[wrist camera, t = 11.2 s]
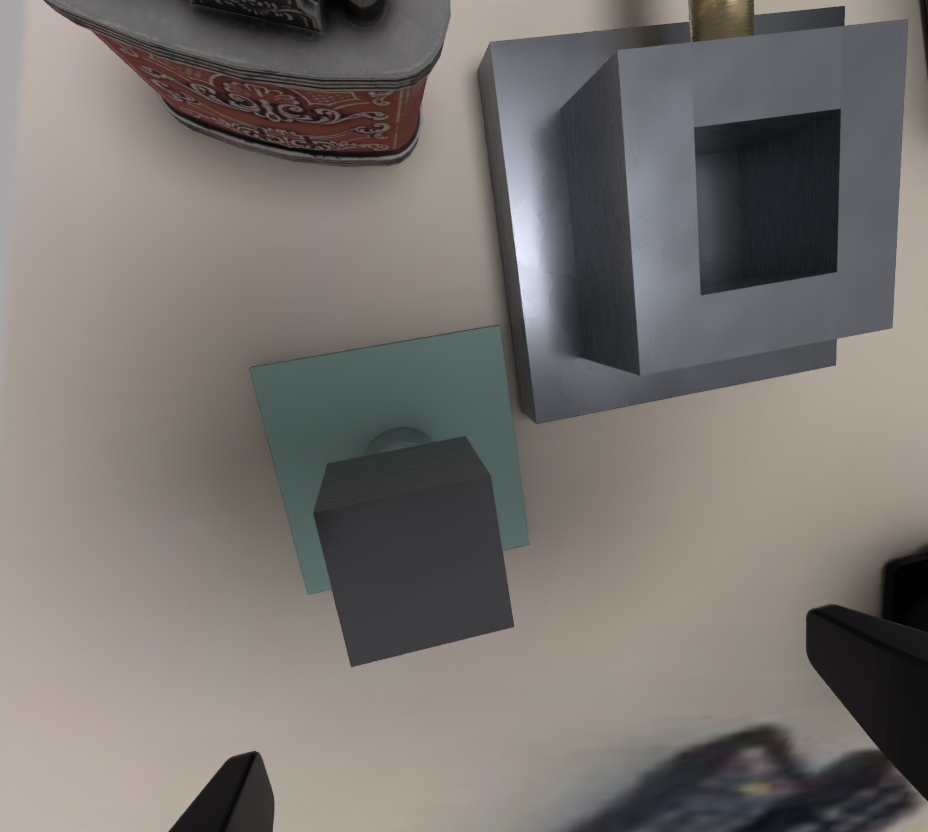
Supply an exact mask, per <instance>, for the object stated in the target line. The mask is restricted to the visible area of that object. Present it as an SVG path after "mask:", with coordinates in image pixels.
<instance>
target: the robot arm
mask: <svg viewBox="0 0 928 832" xmlns="http://www.w3.org/2000/svg"><path fill="white" fill-rule="evenodd" d="M806 652H807V656H808V658H809V661H810V663H811V664H812V666H813V667H814V669H815V670H816V671H817V673H818V674H819V675H820V676H821V677H822V679H823V680H824V681H825V682H826V684H827V685H828V686H829V687H830V689H831V690H832V691H833V692H834V694H835V695H836V696H837V697H838V699H839V700H840V701H841V702H842V704H843V705H844V706H845V707H846V708H847V710H848V711H849V712H850V713H851V715H852V716H853V717H854V718H855V720H856V721H857V722H858V723H859V725H860V726H861V727H862V728H863V730H864V731H865V732H866V733H867V735H868V736H869V737H870V738H871V739H872V741H873V742H874V743H875V744H876V745H877V747H878V748H879V749H880V750H881V751H882V753H883V754H884V755H885V756H886V757H887V758H888V759H889V760H890V762H891V763H892V764H893V765H894V766H895V767H896V768H897V769H898V770H899V771H900V773H901V774H902V775H903V776H904V777H905V778H906V779H907V780H908V781H909V782H910V783H911V784H912V785H913V786H914V787H915V788H916V790H917V791H918V792H919V793H920V794H921V795H922V796H923V797H924V798H925V799H926V800H927V801H928V553H925V554H921V555H917V556H913V557H909V558H905V559H901V560H897V561H894V562H892V563H891V564H890V565H889V566H888V568H887V570H886V582H885V601H884V619H881V618H878V617H875V616H871V615H868V614H865V613H862V612H858V611H855V610H852V609H848V608H845V607H842V606H839V605H835V604H829V605H824V606H821V607H817V608H813V609H811V610H809V611H808V613H807V615H806ZM273 821H274V795H273V791H272V788H271V784H270V781H269V778H268V775H267V772H266V769H265V765H264V762H263V759H262V757H261V755H260V754H259V752H256V751H252V752H248V753H244V754H240V755H236V756H233V757H231V758H229V759H228V760H227V761H226V762H225V763H224V764H223V765H222V767H221V768H220V769H219V770H218V771H217V773H216V774H215V775H214V776H213V778H212V779H211V780H210V781H209V783H208V784H207V785H206V786H205V787H204V789H203V790H202V791H201V792H200V794H199V795H198V796H197V797H196V798H195V800H194V801H193V802H192V803H191V805H190V806H189V807H188V808H187V809H186V811H185V812H184V813H183V814H182V816H181V817H180V818H179V819H178V820H177V822H176V823H175V824H174V825H173V827H172V828H171V829H170V830H169V832H273Z"/></svg>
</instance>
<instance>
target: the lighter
mask: <svg viewBox="0 0 928 832" xmlns="http://www.w3.org/2000/svg"><path fill="white" fill-rule="evenodd" d="M44 1H45V2H46V3H47V4H48V5H49V6H50V7H51V8H53V9H54V10H55V11H56V12H58V13H59V14H61V15H62V16H64V17H66V18H67V19H69V20H70V21H72V22H74V23H75V24H77V25H79V26H82V27H84V28H87V29H89V30H91V31H92V32H93V33H94V34H95V35H96V36H97V37H99V38H100V39H101V40H102V41H103V42H104V43H105V44H106V45H107V46H108V47H109V48H110V49H111V50H113V51H114V52H115V53H116V54H117V55H118V56H119V57H120V58H121V59H122V60H123V61H124V62H125V63H126V64H128V65H129V66H130V67H131V68H132V69H133V70H134V71H135V72H136V73H137V74H138V75H139V76H140V77H142V78H143V79H144V80H145V81H146V82H147V83H148V84H149V85H150V86H151V87H152V88H153V89H154V90H155V91H156V92H157V95H158V97H159V99H160V101H161V102H162V104H163V105H164V106H165V107H166V108H167V110H168V111H169V112H170V113H171V114H172V115H173V116H174V117H175V118H176V119H178V120H179V121H180V122H181V123H182V124H184V125H186V126H187V127H189V128H190V129H192V130H194V131H197V132H199V133H202V134H205V135H207V136H210V137H213V138H215V139H218V140H221V141H223V142H226V143H229V144H231V145H234V146H237V147H239V148H242V149H245V150H249V151H253V152H257V153H261V154H265V155H269V156H273V157H277V158H281V159H285V160H289V161H293V162H303V163H313V164H322V165H332V166H342V167H349V166H389V165H393V164H397V163H400V162H402V161H403V160H404V159H406V158H407V157H408V156H409V155H410V154H411V152H412V151H413V149H414V148H415V146H416V144H417V141H418V138H419V134H420V130H421V126H422V122H423V121H422V104H421V102H422V98H423V94H424V89H425V85H426V81H427V76H428V75H429V74H430V72H431V71H432V69H433V67H434V66H435V64H436V62H437V61H438V59H439V58H440V55H441V52H442V48H443V44H444V40H445V36H446V32H447V28H448V24H449V20H450V16H451V14H450V0H44Z"/></svg>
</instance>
